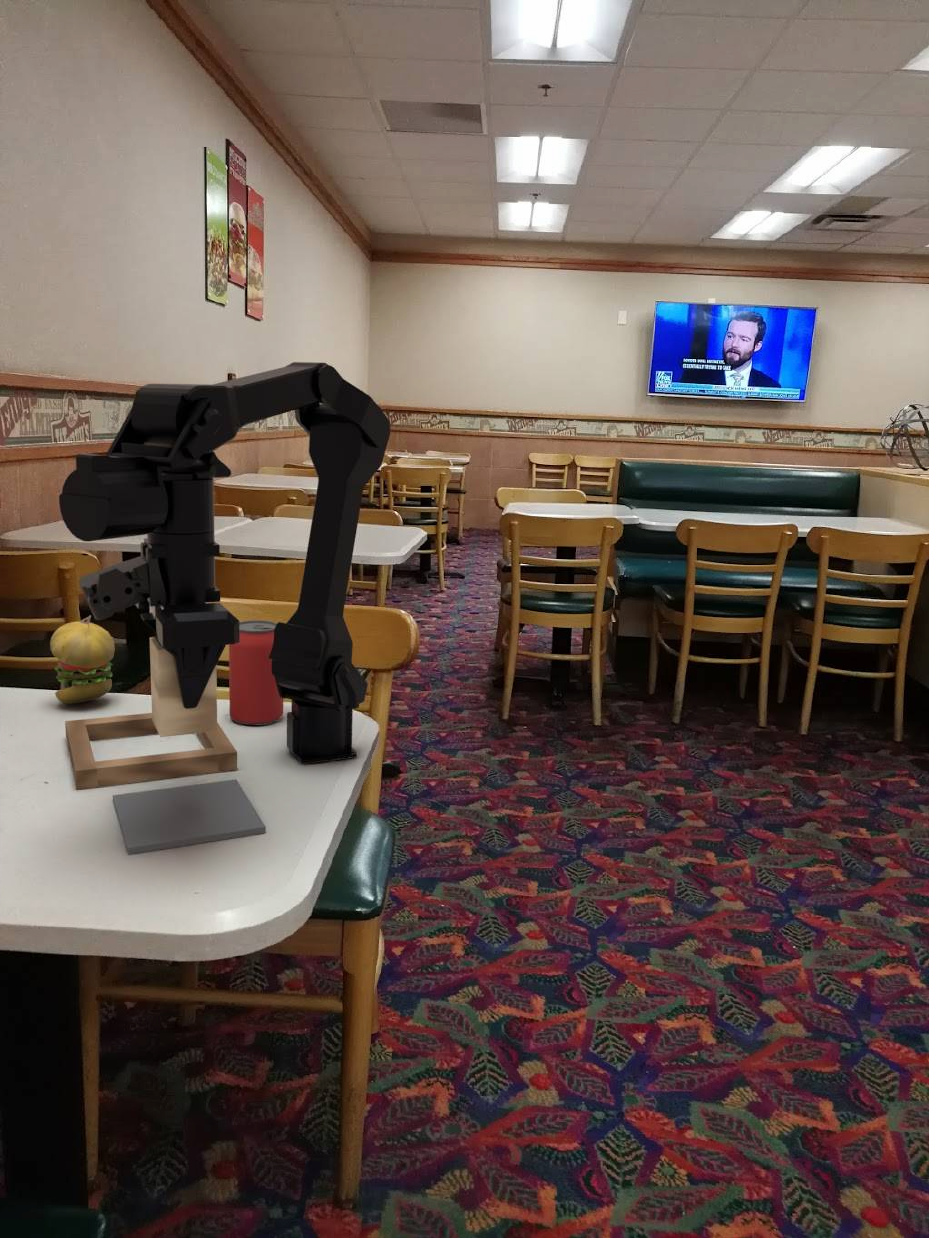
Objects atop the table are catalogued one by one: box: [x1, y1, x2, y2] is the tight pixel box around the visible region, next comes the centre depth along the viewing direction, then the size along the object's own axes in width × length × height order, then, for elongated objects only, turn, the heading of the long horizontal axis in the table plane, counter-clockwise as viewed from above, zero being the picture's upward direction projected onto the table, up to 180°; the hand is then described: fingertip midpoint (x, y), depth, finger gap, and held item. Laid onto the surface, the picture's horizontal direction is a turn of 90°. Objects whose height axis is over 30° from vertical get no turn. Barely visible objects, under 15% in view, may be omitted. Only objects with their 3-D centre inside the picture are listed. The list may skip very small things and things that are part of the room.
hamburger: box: [49, 615, 116, 704], centre depth 117 cm, size 8×7×12 cm
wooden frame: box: [64, 712, 238, 791], centre depth 103 cm, size 16×16×2 cm
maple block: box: [149, 636, 218, 738], centre depth 85 cm, size 5×5×8 cm
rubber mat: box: [111, 778, 267, 856], centre depth 88 cm, size 12×12×1 cm
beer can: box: [228, 619, 284, 726], centre depth 115 cm, size 7×7×12 cm
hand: (184, 699), depth 85 cm, fingers closed on maple block, 5 cm apart
